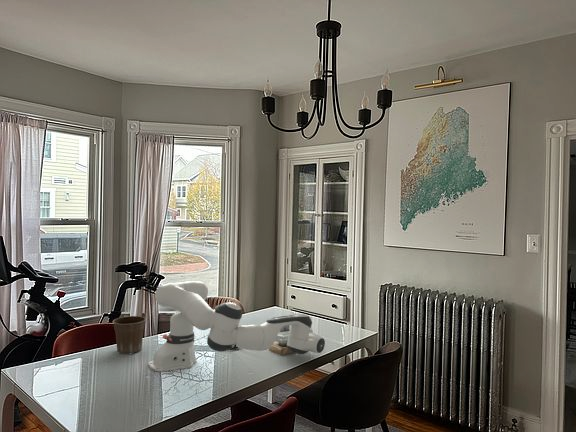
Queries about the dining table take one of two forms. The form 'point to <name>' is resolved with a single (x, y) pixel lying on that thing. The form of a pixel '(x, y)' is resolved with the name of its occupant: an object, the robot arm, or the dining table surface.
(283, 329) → the post
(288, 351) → the well block
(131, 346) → the plant pot
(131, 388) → the dining table surface
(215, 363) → the dining table surface
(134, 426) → the dining table surface
